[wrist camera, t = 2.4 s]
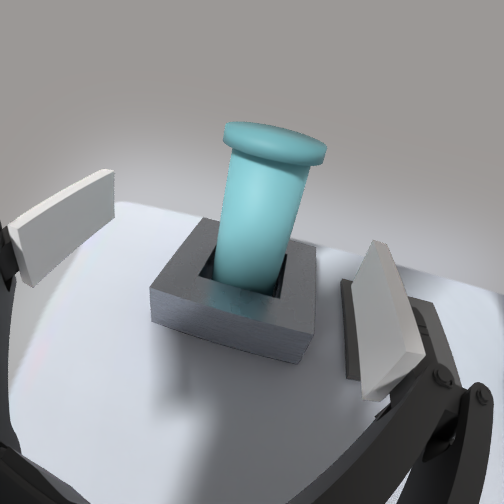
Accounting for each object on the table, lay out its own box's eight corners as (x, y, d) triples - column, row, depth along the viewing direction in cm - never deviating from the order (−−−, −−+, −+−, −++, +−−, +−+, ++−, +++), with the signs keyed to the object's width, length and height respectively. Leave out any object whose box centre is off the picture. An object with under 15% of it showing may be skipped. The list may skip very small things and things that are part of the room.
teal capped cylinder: (281, 283, 31) (324, 139, 23) (271, 334, 25) (330, 157, 16) (214, 265, 32) (239, 118, 23) (190, 310, 26) (211, 128, 17)
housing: (305, 275, 34) (315, 247, 31) (297, 364, 23) (314, 334, 20) (199, 246, 34) (203, 217, 32) (151, 321, 23) (149, 287, 21)
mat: (430, 306, 33) (432, 302, 33) (458, 390, 21) (462, 387, 21) (340, 282, 34) (342, 278, 33) (346, 378, 22) (349, 374, 22)
